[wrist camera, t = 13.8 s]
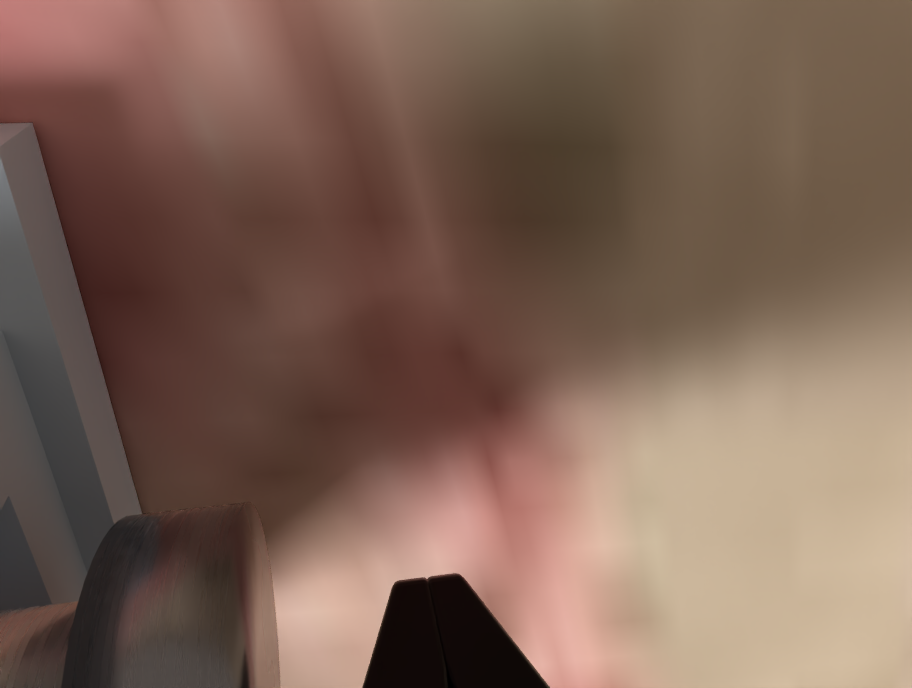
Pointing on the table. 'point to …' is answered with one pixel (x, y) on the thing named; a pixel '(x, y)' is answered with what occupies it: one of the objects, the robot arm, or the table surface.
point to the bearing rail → (49, 399)
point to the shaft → (157, 610)
